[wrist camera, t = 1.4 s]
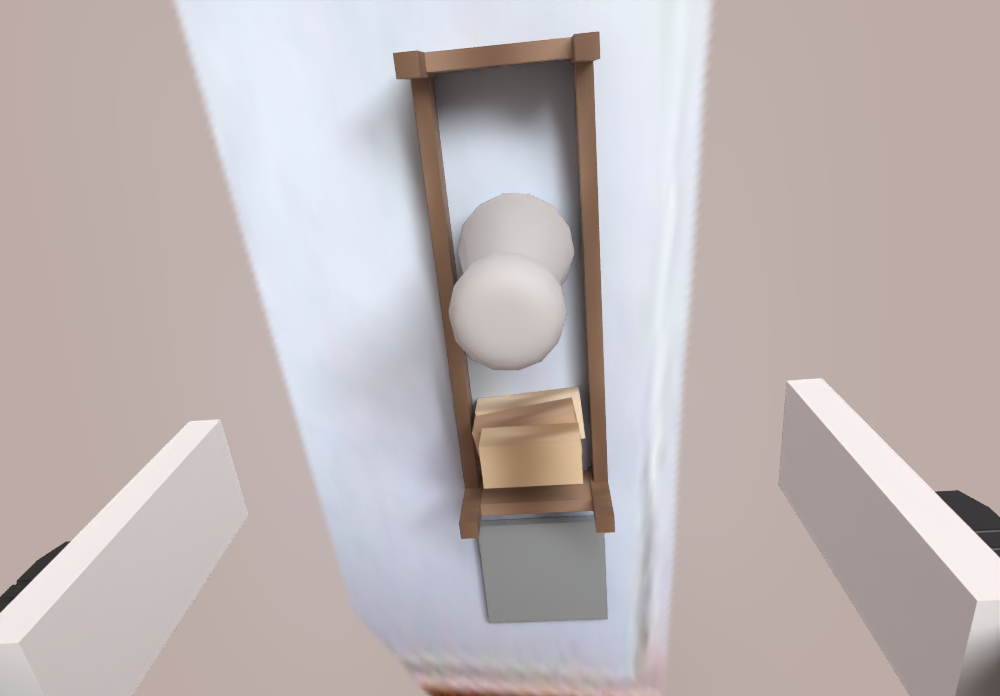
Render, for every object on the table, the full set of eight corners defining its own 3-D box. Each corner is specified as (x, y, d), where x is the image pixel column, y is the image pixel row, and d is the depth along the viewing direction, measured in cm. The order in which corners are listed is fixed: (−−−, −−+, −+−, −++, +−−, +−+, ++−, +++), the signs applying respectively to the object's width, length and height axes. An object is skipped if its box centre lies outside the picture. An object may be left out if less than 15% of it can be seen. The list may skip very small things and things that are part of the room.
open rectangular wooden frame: (589, 38, 31) (599, 31, 26) (605, 480, 40) (614, 532, 36) (413, 57, 32) (392, 53, 27) (469, 486, 41) (461, 538, 36)
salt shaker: (591, 217, 34) (621, 291, 22) (540, 309, 36) (543, 422, 24) (490, 166, 33) (465, 213, 21) (445, 263, 35) (399, 356, 23)
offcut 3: (578, 422, 35) (580, 441, 33) (580, 462, 36) (583, 483, 34) (481, 428, 35) (478, 447, 33) (486, 467, 36) (483, 488, 34)
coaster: (602, 515, 41) (603, 521, 41) (606, 612, 44) (607, 619, 44) (477, 520, 42) (477, 526, 41) (490, 616, 45) (489, 622, 44)
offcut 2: (571, 397, 36) (573, 414, 34) (580, 435, 37) (582, 453, 35) (475, 415, 37) (472, 433, 35) (485, 452, 38) (483, 471, 36)
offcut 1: (578, 384, 38) (580, 399, 36) (582, 421, 39) (585, 438, 37) (477, 396, 39) (475, 411, 37) (484, 432, 40) (482, 449, 38)
